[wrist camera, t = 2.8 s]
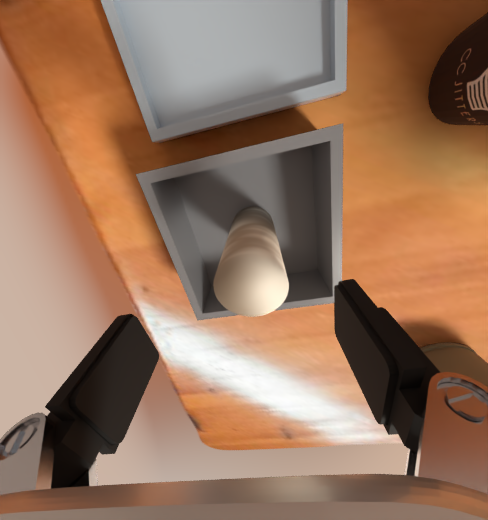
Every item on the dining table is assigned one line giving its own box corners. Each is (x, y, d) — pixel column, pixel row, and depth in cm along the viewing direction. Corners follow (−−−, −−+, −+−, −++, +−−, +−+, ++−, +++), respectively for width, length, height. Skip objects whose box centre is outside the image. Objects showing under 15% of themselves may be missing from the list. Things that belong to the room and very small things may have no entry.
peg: (270, 202, 20) (283, 248, 11) (276, 242, 22) (292, 311, 13) (227, 211, 21) (203, 261, 11) (237, 249, 23) (223, 320, 13)
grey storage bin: (318, 131, 18) (343, 123, 13) (324, 271, 24) (341, 302, 19) (165, 168, 20) (135, 174, 15) (208, 288, 26) (197, 320, 21)
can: (377, 384, 34) (403, 434, 28) (417, 335, 29) (460, 384, 22) (444, 395, 35) (485, 446, 29) (497, 348, 29) (561, 400, 23)
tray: (339, -141, 12) (349, -178, 10) (339, 95, 17) (346, 90, 15) (95, -39, 14) (79, -59, 13) (159, 142, 19) (152, 142, 18)
